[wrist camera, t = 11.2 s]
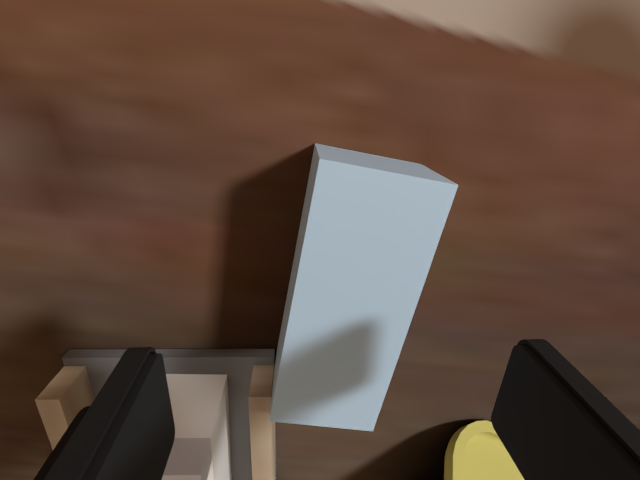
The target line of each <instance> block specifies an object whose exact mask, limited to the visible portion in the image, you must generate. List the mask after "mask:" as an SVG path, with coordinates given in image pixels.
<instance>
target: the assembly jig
mask: <svg viewBox="0 0 640 480" xmlns="http://www.w3.org/2000/svg"><path fill="white" fill-rule="evenodd" d="M126 350H127V349H74V350H68V351H67V353H66V354H65V355H64V356H63V357H62V361H63V365H64V367H63V368H62V369H61V370H60V372H59V373H58V374H57V375H56V376H55V377H54V378H53V380H52V381H51V382H50V383H49V384H48V385H47V386H46V388H45V389H44V390H43V391H42V392H41V393H40V394H39V396H38V397H37V398H36V399H35V402H36V405H37V408H38V410H39V413H40V416H41V419H42V422H43V424H44V427H45V430H46V433H47V436H48V438H49V441H50V444H51V447H52V449H53V450H54V448H55V447H56V445H57V443H58V442H59V440H60V439H61V437H62V436H63V434H64V433H65V431H66V430H67V428H68V427H69V425H70V424H71V422H72V421H73V419H74V418H75V416H76V415H77V414H78V413H79V411H80V410H81V409H83V408H84V407H86V406H91V404H92V403H93V401H94V400H95V398H96V396H97V395H98V393H99V392H100V390H101V389H102V387H103V385H104V384H105V382H106V381H107V379H108V378H109V376H110V374H111V373H112V371H113V370H114V368H115V366H116V365H117V363H118V362H119V360H120V359H121V357H122V355H123V354H124V352H125V351H126ZM155 351H156V353H161V354H162V356H163V360H164V366H165V372H166V374H215V375H227V383H228V405H229V427H230V449H231V471H232V480H276V422H272V421H269V417H270V407H271V397H272V387H273V376H274V366H275V349H155Z"/></svg>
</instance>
